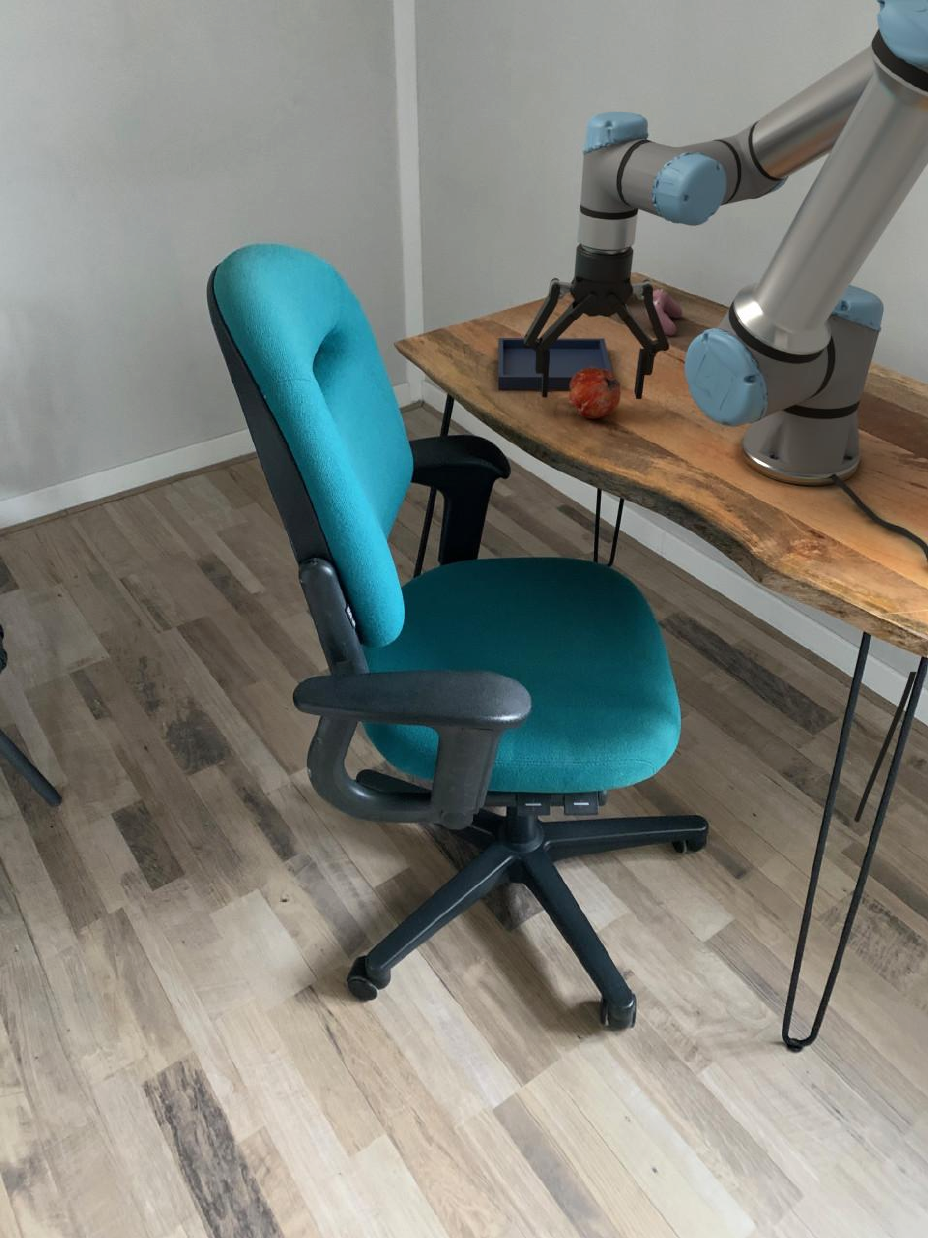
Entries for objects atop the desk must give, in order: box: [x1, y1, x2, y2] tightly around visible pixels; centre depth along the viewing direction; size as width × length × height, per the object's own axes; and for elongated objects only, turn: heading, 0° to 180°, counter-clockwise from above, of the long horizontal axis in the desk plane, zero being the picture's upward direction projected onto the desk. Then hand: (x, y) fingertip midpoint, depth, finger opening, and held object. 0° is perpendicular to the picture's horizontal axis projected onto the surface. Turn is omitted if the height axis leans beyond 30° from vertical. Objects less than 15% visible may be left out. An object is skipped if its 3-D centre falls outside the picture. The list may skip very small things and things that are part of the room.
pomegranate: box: [568, 367, 621, 420], centre depth 138 cm, size 7×7×10 cm
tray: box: [497, 337, 613, 391], centre depth 152 cm, size 16×18×2 cm
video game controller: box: [644, 288, 683, 337], centre depth 166 cm, size 10×5×7 cm, turn 162°
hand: (591, 394), depth 139 cm, fingers open, 13 cm apart
